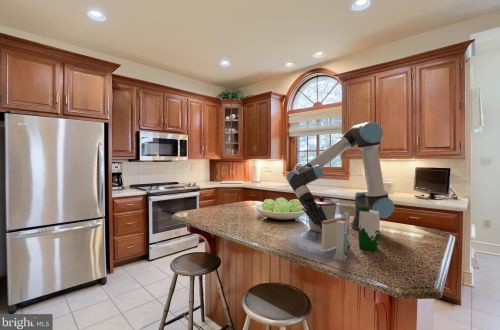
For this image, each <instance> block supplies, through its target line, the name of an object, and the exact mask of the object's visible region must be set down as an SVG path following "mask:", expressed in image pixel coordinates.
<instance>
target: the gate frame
mask: <svg viewBox="0 0 500 330" xmlns="http://www.w3.org/2000/svg"><path fill="white" fill-rule="evenodd" d="M343 217H345V218H346V220H345V221H337V232H336V246H335V253H334V254H333V257H332V260H333V261H334V260H335V261H340V262H343V263H344V262H346V260H347V259H348V256H347V255H345V253H346V252H347V251H348V247H350V246H351V242H350V241H349V240H350V212H344V213H343Z"/></svg>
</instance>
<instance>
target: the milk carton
mask: <svg viewBox="0 0 500 330" xmlns="http://www.w3.org/2000/svg"><path fill="white" fill-rule="evenodd" d="M380 220H381V218H379V211H373V210H369V207H368V206H360V212H359V230H358V247H359V248H358V249H361V250H366V251H370V252H371V251H372V252H376V251H377V249H378V245H379V240H380V226H381V225H380V223H381V221H380Z"/></svg>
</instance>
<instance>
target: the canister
mask: <svg viewBox="0 0 500 330" xmlns="http://www.w3.org/2000/svg"><path fill="white" fill-rule="evenodd" d="M314 201H315V202H316V203H317V205H320V204H321V206H322V209H323V211H324V214H325V216H326V218H327V220H329V219H334V218H336V213H337V212H336V210H337V207H338V203H336V202H335V201H332V200H327V199H326V197H325V196H324V195H319V196H318V199H314ZM307 218H308V227H309V229H310V230H311V231H312V232H315V233H318V234H319V233H321V234H322V230H321V228H320V227H319V225H318V226H317V224H314V223H313V222H312V220H311V219H310V218H309V217H308V216H307Z"/></svg>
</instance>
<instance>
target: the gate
mask: <svg viewBox="0 0 500 330" xmlns="http://www.w3.org/2000/svg"><path fill="white" fill-rule="evenodd" d="M345 220H346V218H345V217H344V216H341V217H335V218H334V219H329V220H324V221H322V233H321V250H323V251H325V250H328V249H329V250H330V249H332V248H336V232H337V221H345Z"/></svg>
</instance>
